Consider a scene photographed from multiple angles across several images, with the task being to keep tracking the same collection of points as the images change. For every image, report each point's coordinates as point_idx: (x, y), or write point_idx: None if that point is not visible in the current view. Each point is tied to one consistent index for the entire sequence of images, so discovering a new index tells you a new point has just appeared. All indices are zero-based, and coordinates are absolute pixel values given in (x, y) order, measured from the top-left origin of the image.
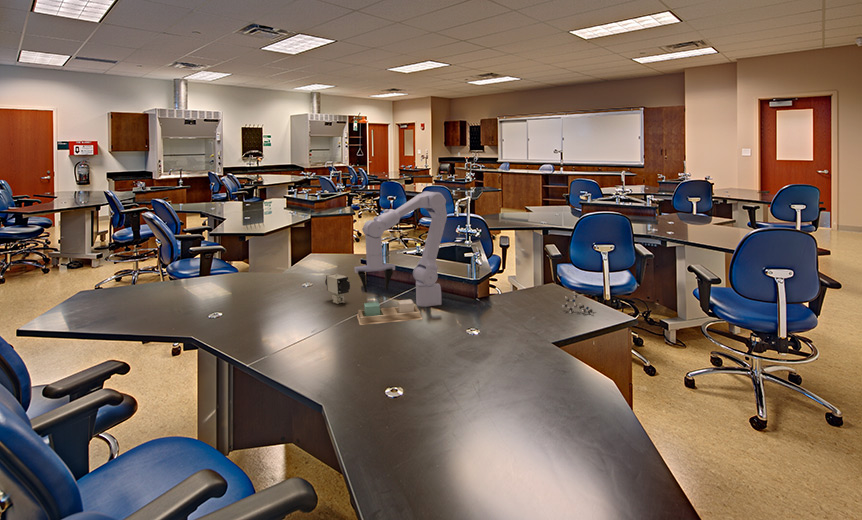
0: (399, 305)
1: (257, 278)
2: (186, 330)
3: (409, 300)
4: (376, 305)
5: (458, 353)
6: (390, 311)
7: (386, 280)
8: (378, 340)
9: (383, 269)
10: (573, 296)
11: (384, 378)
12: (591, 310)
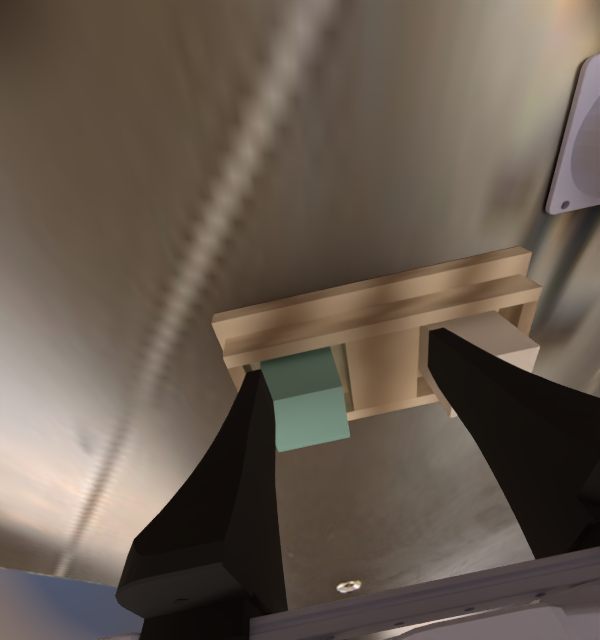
0: (446, 403)
1: None
2: None
3: (521, 365)
4: (333, 433)
5: (482, 513)
6: (389, 374)
7: (483, 453)
8: (325, 483)
9: (567, 587)
10: None
11: (336, 572)
12: None
